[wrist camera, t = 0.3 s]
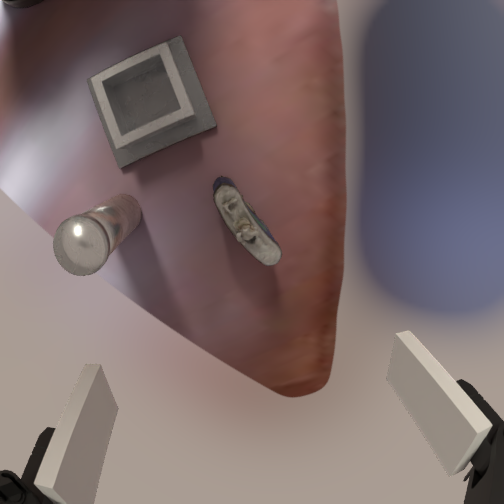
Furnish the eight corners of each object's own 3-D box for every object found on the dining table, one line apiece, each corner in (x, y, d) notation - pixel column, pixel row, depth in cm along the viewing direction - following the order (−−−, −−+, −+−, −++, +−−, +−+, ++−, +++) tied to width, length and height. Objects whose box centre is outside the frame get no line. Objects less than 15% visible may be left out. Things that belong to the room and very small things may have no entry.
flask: (272, 233, 39) (291, 263, 29) (252, 247, 39) (264, 283, 29) (226, 170, 36) (228, 179, 26) (205, 186, 36) (200, 200, 26)
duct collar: (89, 80, 30) (73, 73, 26) (181, 37, 30) (176, 23, 26) (121, 168, 34) (108, 171, 30) (216, 126, 34) (216, 122, 30)
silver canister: (98, 202, 35) (42, 232, 22) (133, 185, 35) (88, 207, 22) (114, 239, 37) (68, 286, 24) (149, 223, 37) (115, 265, 24)
